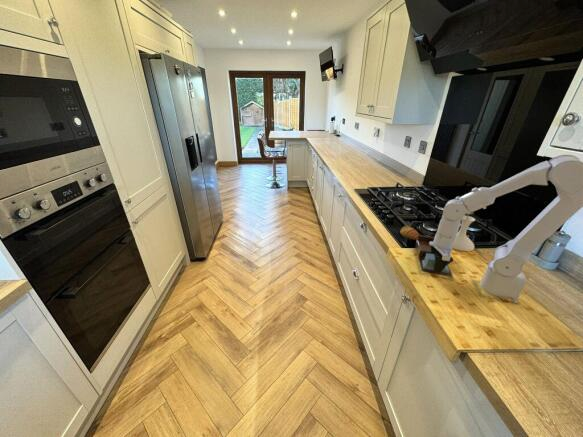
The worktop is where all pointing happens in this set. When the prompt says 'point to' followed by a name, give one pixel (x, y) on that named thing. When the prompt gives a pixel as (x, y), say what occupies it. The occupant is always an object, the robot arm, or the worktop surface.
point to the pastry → (409, 233)
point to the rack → (425, 247)
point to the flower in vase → (464, 235)
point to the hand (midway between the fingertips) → (435, 265)
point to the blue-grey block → (432, 263)
